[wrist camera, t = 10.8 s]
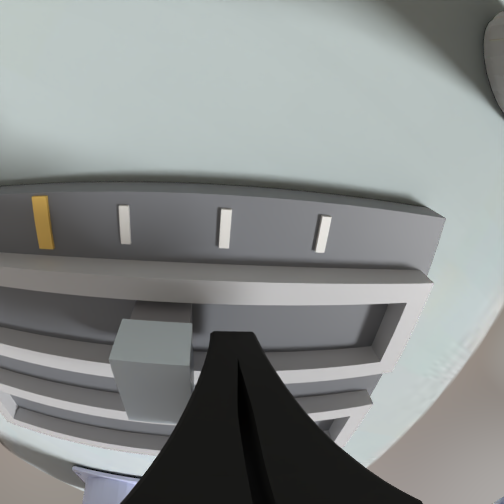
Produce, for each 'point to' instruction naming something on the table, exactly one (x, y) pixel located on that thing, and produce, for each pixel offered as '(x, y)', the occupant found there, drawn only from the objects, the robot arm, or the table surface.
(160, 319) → the fader
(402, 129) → the table surface
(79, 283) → the console
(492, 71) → the coffee cup
